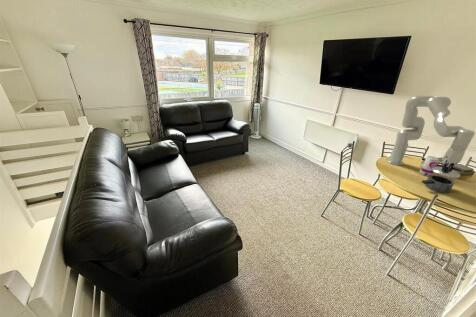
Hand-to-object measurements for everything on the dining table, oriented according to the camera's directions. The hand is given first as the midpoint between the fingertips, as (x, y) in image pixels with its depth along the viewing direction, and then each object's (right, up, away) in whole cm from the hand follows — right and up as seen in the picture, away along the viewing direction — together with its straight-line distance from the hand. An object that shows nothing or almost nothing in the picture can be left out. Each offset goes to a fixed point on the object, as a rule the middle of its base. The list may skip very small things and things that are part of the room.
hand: (446, 170), depth 147 cm
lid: (0, -1, +1) cm, 2 cm away
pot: (-2, -13, +6) cm, 15 cm away
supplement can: (+8, -4, +25) cm, 26 cm away
